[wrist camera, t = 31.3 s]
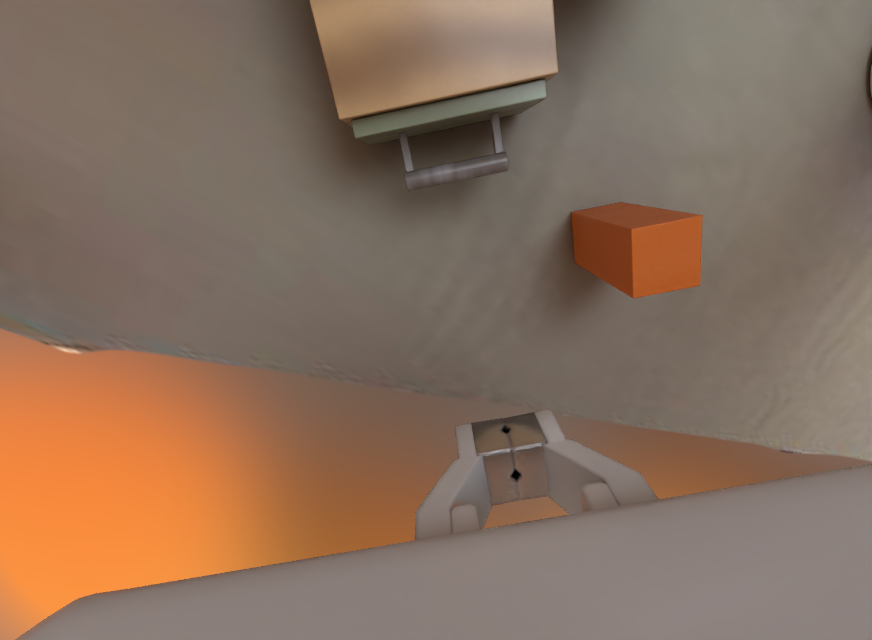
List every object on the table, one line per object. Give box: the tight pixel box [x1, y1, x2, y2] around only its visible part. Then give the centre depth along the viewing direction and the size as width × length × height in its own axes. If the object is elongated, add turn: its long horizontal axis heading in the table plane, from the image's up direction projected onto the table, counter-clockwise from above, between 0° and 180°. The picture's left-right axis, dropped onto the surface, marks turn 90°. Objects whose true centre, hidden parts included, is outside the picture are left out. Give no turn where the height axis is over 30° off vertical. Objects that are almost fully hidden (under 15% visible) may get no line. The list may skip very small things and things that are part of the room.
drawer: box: [351, 78, 547, 191], centre depth 30 cm, size 19×13×8 cm
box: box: [571, 202, 702, 298], centre depth 34 cm, size 5×5×12 cm
